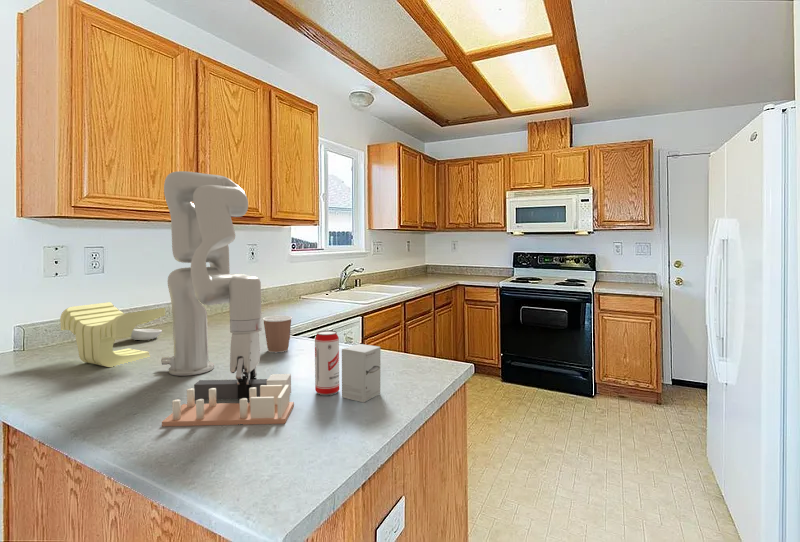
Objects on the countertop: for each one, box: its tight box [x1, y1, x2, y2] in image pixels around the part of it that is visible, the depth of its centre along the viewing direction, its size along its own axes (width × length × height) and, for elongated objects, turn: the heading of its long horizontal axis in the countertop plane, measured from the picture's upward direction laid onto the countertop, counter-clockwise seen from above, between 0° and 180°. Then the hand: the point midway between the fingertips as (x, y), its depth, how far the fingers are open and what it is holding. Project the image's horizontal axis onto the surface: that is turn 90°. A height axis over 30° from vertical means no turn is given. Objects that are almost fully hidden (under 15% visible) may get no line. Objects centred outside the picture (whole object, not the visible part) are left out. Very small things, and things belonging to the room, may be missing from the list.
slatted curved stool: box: [59, 301, 166, 368], centre depth 141 cm, size 30×16×18 cm, turn 64°
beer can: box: [314, 329, 340, 396], centre depth 112 cm, size 6×6×16 cm
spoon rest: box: [130, 328, 162, 341], centre depth 169 cm, size 24×12×7 cm, turn 153°
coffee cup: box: [262, 315, 293, 354], centre depth 155 cm, size 10×10×12 cm
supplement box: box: [341, 343, 382, 404], centre depth 109 cm, size 7×7×13 cm
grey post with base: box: [193, 373, 292, 401], centre depth 109 cm, size 23×5×5 cm, turn 93°
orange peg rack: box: [161, 385, 295, 427], centre depth 97 cm, size 26×10×6 cm, turn 93°
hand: (247, 395), depth 109 cm, fingers open, 3 cm apart
